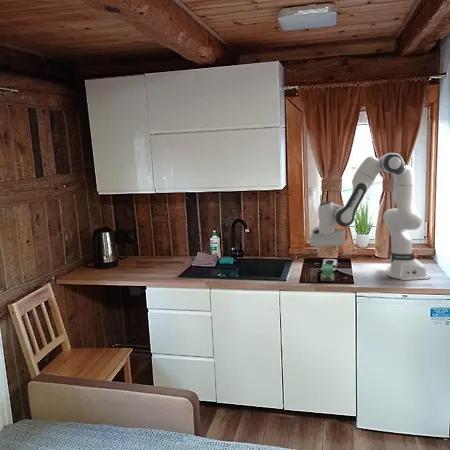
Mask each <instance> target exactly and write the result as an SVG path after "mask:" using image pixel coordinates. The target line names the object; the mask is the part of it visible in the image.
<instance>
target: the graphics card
mask: <svg viewBox="0 0 450 450" xmlns="http://www.w3.org/2000/svg"><path fill="white" fill-rule="evenodd" d="M321 262H322V264H333V273H334V274H335V273H336V269H337V265H338V259H336V258H335V259H334V258H323V259H321ZM319 273H320V274H321V273H322V266H321V267H320V271H319Z"/></svg>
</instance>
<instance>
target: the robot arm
mask: <svg viewBox="0 0 450 450" xmlns="http://www.w3.org/2000/svg"><path fill="white" fill-rule="evenodd" d="M381 172H382V173H387V174H388V173H389V174H392V177H393V189H392V191H393V192H392V199H393V201H394V203H395V204H396V208H389V209H386V211H384V213H383V217H382V220H383V223H385V225H386V226H387V229H388V232H389V236H390V240H391V242H390V243H391V246H390V247H391V251H390V269H389V272H388V276H389V277H391V278H392V279H393V278H394V279H399V280H401V281H413V280H429V279H431V274H430V273H429V272H428V271H427V269H426V266H425V265H424V263H422V262H421V261H420V260H418V259H417V258H418V255H417V253H416V252H413V239H412V237H411V235H410V234H409V233H408V231H416V230H417V229H419V228H420V227H421V225H422V223H423V222H422V221H423V220H422V216H421V214H420V213H419V212H418V210H417V208H416V204H415V182H416V181H415V180H416V179H415V170H414V168H413V167H412V166H410V165H408V164H407V165H406V163H405V161H404V159H403V156H401V154H399V153H395V152H388V153H384V154H381V155H380V156H379V157H378V158H377V157H376V156H368V157H366V158H365V159H364V160H363V161H362V163H361V164H360V165H359V166H358V168H357V170H356V171H355V173H354V174H353V178H352V181H351V184H352V192H351V195H350V196H349V198H348V200H347V202H346V204H345V205H339V204H336V203H334V202H333V201H324V202H321V203H319V205H318V208H317V209H318V212H317V215H318V221H319V222H318V226H317V227H314V228H312V229H311V234H310V237H309V245H310V247H316V249H317V251H318V254H322V250H321V249H320V248H319V247H321V246H323V247H324V246H325V247H326V246H336V248H335V249H334V253H335V254H337V253H338V250H339V248H340V246H345V245H346V238H345V237H346V231H345V229H343V228H345V227H346V228H347V227H349V226H351V225H352V224H353V223H354V220H355V216H356V212H357V210H358V209H359V208H358V207H359V206H360V204H361V202H362V200H363V198H364V196H365V195H366V193H367V192H368V191H369V189H370V187H371V186H372V185H373V183H374V181H375V180H376V178H377V176H378V175H380V173H381ZM336 223H337V224H338V226H340V227H343V228H336V227H335V224H336Z"/></svg>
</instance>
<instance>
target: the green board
mask: <svg viewBox="0 0 450 450" xmlns="http://www.w3.org/2000/svg"><path fill="white" fill-rule="evenodd" d="M321 267H322V270H321V271H322V275H333V264H323V263H322V265H321Z"/></svg>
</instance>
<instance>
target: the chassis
mask: <svg viewBox="0 0 450 450" xmlns="http://www.w3.org/2000/svg"><path fill="white" fill-rule="evenodd" d="M320 282H336V275H335V273H333V275H322V273H320Z"/></svg>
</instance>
